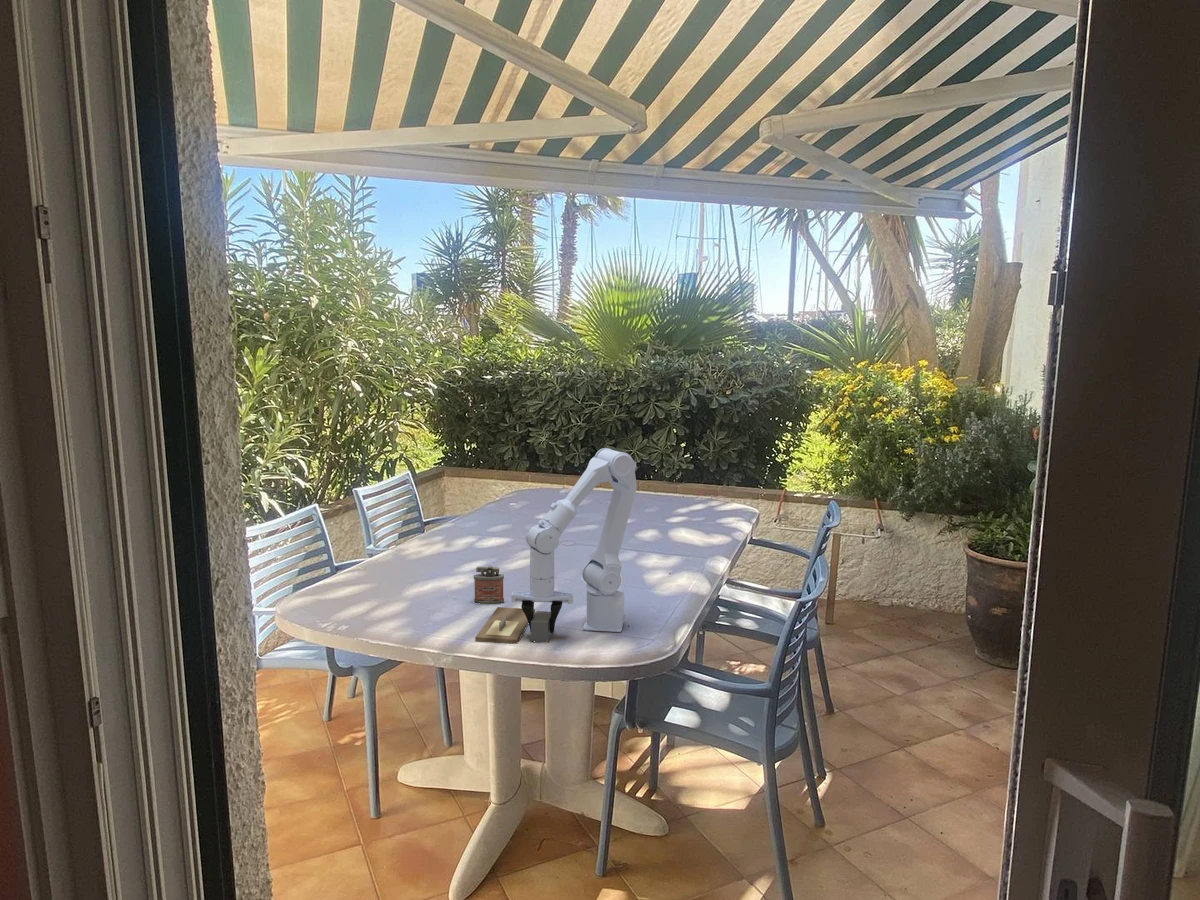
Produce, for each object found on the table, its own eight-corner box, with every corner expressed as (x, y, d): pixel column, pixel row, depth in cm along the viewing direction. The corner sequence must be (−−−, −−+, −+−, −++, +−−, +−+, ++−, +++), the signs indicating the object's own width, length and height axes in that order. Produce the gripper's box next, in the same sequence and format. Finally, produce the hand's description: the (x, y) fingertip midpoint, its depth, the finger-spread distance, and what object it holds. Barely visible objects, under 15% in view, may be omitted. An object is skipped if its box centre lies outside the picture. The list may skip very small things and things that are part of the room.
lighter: (504, 600, 198) (504, 564, 197) (503, 604, 195) (503, 568, 194) (475, 600, 198) (474, 564, 197) (473, 604, 195) (472, 568, 193)
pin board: (535, 612, 189) (535, 601, 189) (516, 643, 169) (516, 630, 169) (497, 610, 190) (497, 599, 190) (475, 641, 171) (475, 628, 170)
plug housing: (553, 631, 177) (553, 611, 176) (547, 643, 170) (547, 622, 169) (537, 630, 177) (537, 610, 177) (530, 641, 170) (530, 621, 170)
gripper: (574, 571, 175) (573, 625, 177) (514, 570, 176) (514, 623, 178) (571, 580, 168) (571, 636, 170) (509, 579, 169) (510, 635, 171)
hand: (542, 631), depth 173 cm, fingers closed on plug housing, 4 cm apart
